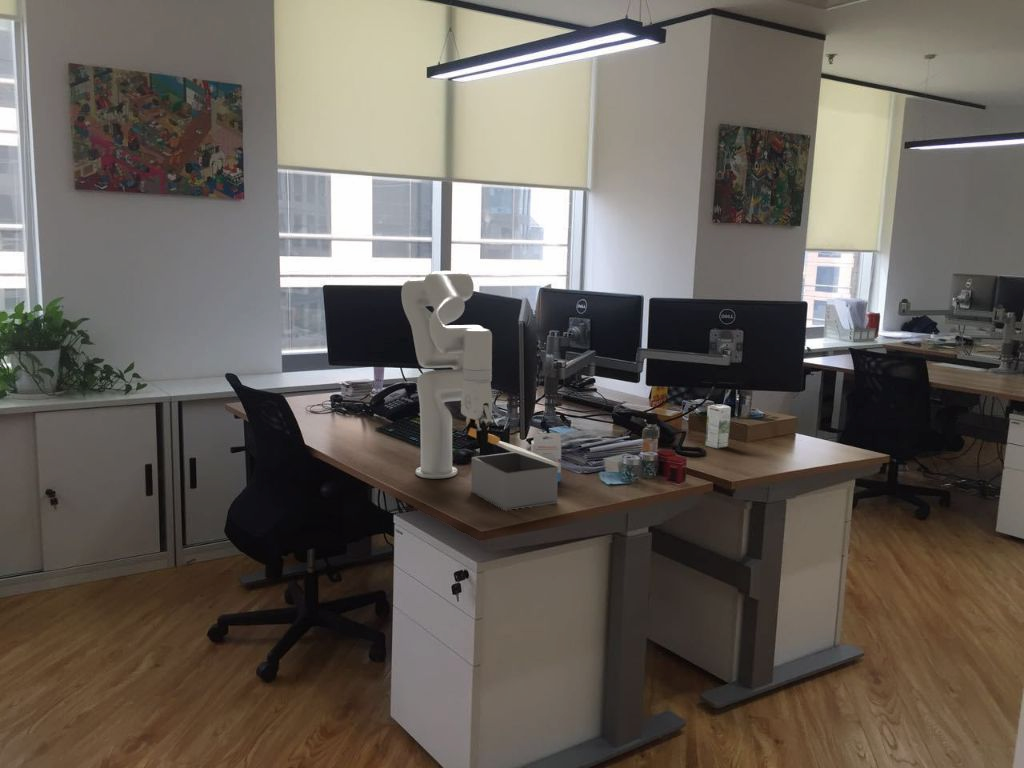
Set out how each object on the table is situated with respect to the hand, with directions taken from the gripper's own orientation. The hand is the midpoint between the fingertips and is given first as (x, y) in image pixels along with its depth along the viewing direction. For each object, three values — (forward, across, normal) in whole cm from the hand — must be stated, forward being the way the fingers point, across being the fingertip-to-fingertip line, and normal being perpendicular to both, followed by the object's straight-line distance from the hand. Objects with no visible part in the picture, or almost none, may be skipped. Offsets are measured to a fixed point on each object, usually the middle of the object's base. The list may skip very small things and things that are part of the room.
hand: (477, 441), depth 228 cm
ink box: (+17, -11, +28) cm, 35 cm away
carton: (+17, 0, +11) cm, 20 cm away
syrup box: (+17, -21, +104) cm, 108 cm away
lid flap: (+2, 0, +9) cm, 9 cm away
